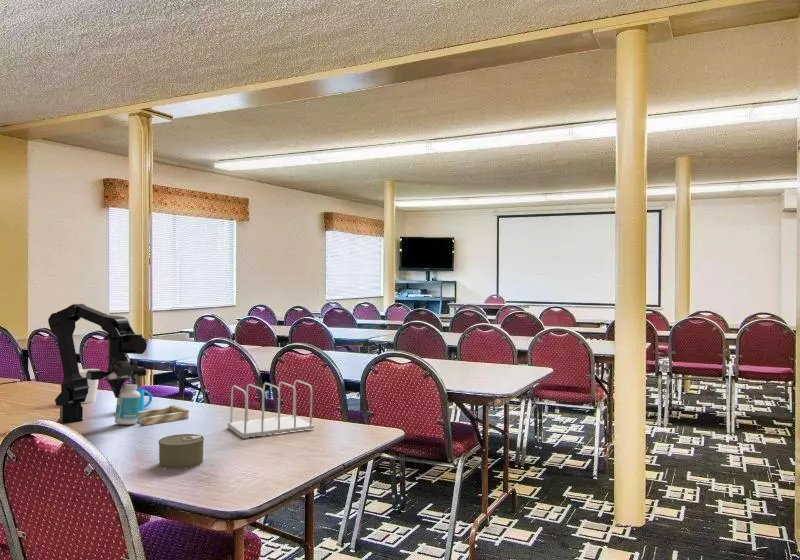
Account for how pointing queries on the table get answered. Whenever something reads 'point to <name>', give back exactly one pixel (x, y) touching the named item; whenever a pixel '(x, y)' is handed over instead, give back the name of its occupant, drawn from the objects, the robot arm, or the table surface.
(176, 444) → the can
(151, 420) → the cradle
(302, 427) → the file sorter
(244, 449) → the table surface
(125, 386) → the pill bottle
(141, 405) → the mug
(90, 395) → the foam cup
